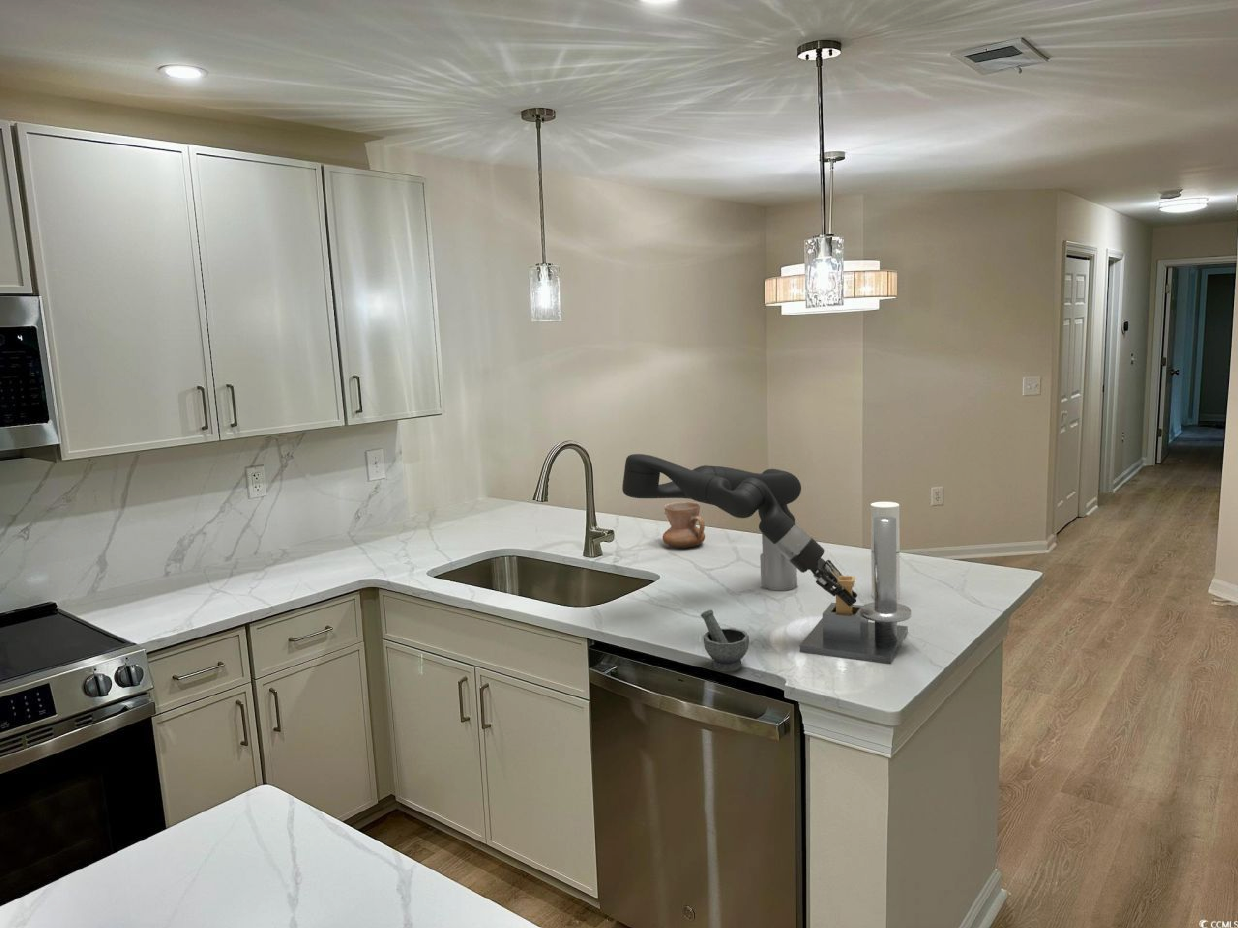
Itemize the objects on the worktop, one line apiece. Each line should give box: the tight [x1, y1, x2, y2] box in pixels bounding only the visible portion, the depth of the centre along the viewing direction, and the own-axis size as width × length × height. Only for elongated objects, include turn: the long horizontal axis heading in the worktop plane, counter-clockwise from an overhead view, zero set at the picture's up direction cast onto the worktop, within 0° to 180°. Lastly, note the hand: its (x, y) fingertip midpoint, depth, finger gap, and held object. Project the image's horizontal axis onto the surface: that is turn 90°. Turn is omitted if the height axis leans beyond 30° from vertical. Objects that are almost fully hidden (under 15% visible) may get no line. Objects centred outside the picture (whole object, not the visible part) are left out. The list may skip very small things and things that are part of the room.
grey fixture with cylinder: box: [799, 517, 912, 665], centre depth 194 cm, size 22×20×30 cm
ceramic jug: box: [662, 501, 706, 549], centre depth 290 cm, size 18×14×14 cm
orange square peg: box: [835, 575, 855, 614], centre depth 197 cm, size 4×4×12 cm
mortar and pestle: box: [700, 609, 750, 672], centre depth 188 cm, size 11×9×12 cm
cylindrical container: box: [870, 501, 901, 600], centre depth 226 cm, size 7×7×25 cm
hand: (853, 600), depth 196 cm, fingers closed on orange square peg, 3 cm apart
